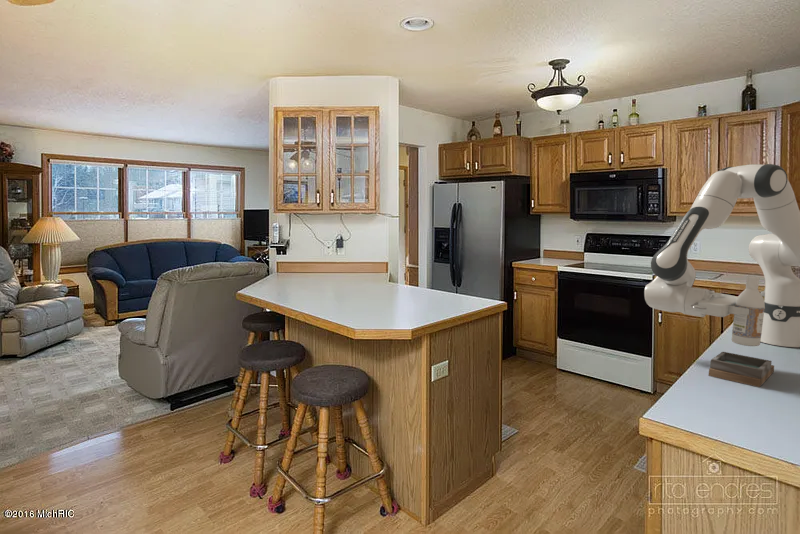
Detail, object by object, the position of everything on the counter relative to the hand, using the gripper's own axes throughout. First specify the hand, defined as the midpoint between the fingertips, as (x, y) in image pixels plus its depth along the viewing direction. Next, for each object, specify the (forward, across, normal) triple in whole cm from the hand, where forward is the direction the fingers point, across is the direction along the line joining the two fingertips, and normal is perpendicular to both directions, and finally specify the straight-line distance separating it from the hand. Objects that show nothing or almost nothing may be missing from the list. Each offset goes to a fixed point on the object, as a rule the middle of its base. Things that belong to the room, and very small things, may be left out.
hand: (753, 309), depth 140 cm
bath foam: (-1, 0, +10) cm, 11 cm away
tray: (0, -4, +18) cm, 19 cm away
